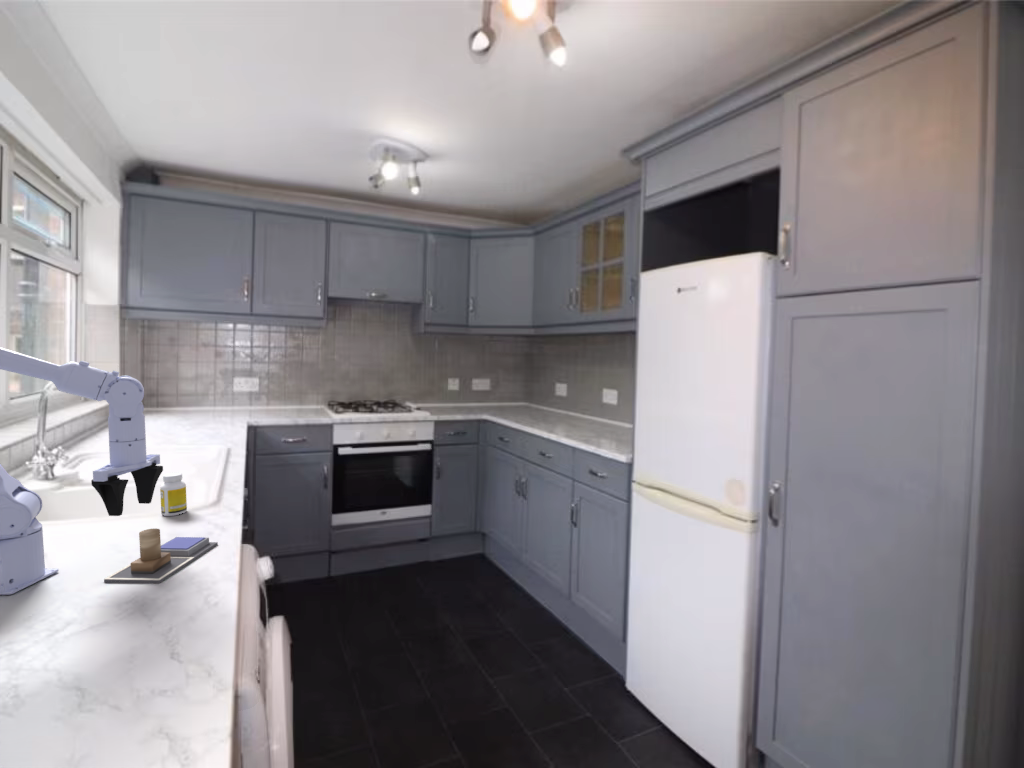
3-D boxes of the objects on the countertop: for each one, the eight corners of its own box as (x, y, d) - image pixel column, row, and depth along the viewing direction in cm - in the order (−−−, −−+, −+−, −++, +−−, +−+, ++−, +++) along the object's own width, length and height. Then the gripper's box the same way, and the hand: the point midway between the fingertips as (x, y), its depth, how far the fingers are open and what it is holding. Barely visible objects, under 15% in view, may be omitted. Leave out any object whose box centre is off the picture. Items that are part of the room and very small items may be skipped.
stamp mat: (159, 583, 94) (159, 572, 94) (104, 582, 95) (103, 571, 95) (217, 544, 112) (217, 535, 112) (170, 544, 113) (170, 535, 112)
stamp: (152, 574, 97) (150, 536, 96) (131, 573, 97) (129, 536, 97) (170, 562, 102) (169, 527, 101) (150, 562, 102) (148, 526, 101)
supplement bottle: (192, 510, 135) (190, 472, 134) (176, 517, 130) (174, 477, 129) (172, 509, 136) (170, 471, 135) (155, 516, 130) (154, 476, 130)
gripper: (118, 447, 95) (121, 521, 96) (173, 433, 109) (175, 498, 110) (80, 446, 95) (83, 520, 96) (140, 432, 109) (142, 497, 111)
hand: (130, 509), depth 103 cm, fingers open, 7 cm apart
